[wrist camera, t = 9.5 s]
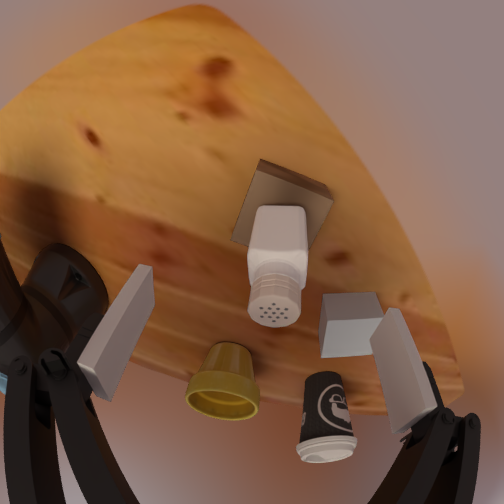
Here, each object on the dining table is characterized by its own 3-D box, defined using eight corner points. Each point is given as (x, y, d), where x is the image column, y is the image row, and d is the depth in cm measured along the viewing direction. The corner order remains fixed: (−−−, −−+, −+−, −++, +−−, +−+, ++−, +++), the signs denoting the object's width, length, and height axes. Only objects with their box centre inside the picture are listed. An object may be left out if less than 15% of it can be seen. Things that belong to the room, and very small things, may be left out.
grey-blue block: (318, 330, 37) (321, 357, 32) (322, 292, 33) (327, 320, 29) (364, 328, 36) (371, 354, 32) (374, 290, 32) (384, 317, 28)
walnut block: (237, 218, 29) (230, 240, 25) (260, 158, 26) (256, 169, 21) (297, 240, 30) (300, 265, 25) (325, 184, 26) (334, 201, 22)
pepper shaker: (303, 242, 24) (304, 332, 17) (259, 240, 25) (243, 329, 17) (305, 203, 21) (310, 291, 14) (256, 202, 22) (237, 289, 15)
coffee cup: (296, 368, 41) (295, 451, 29) (352, 363, 40) (364, 444, 27) (296, 394, 46) (295, 465, 33) (345, 391, 45) (352, 460, 32)
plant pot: (252, 377, 44) (246, 426, 36) (195, 362, 43) (181, 410, 35) (272, 344, 39) (269, 400, 30) (205, 325, 38) (188, 381, 30)
